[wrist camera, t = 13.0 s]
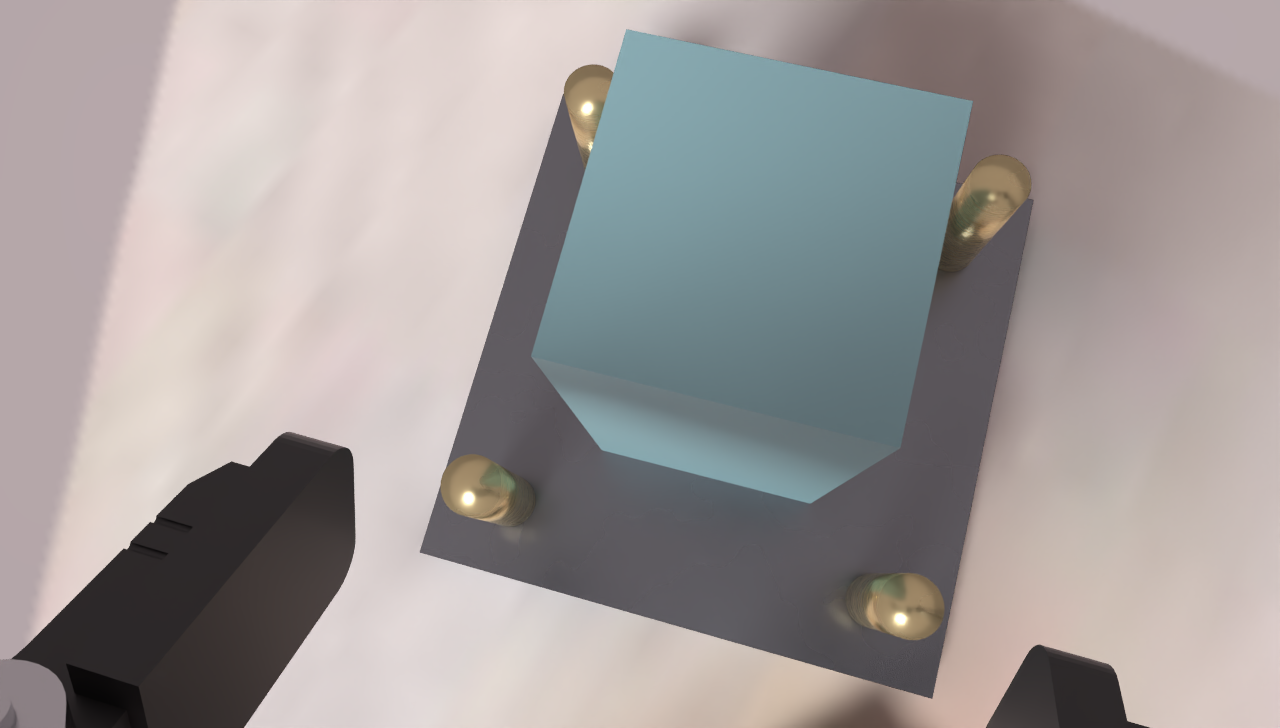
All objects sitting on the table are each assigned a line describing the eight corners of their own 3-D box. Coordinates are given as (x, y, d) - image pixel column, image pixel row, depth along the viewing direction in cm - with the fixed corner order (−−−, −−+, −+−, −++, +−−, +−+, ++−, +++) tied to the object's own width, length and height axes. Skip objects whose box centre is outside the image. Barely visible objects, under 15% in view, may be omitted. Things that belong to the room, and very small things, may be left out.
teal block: (856, 300, 23) (972, 101, 13) (810, 503, 22) (900, 447, 12) (655, 253, 24) (626, 29, 14) (601, 450, 23) (530, 356, 13)
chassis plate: (1020, 214, 24) (1101, 125, 20) (921, 693, 22) (985, 726, 17) (568, 111, 26) (538, 3, 21) (431, 553, 23) (361, 547, 19)
